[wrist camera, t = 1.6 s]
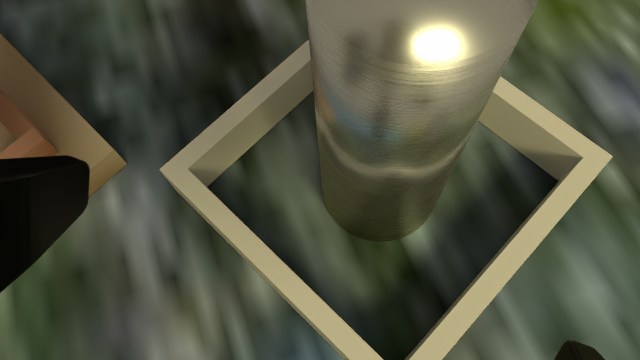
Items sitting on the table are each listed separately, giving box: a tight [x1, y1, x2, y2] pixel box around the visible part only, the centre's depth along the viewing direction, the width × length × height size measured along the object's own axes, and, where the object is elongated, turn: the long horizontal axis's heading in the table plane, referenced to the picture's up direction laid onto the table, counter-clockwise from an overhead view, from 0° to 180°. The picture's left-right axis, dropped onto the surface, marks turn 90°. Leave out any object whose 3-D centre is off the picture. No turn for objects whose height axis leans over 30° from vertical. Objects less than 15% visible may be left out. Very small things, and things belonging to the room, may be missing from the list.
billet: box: [305, 0, 538, 242], centre depth 17 cm, size 5×5×13 cm
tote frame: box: [159, 40, 613, 360], centre depth 22 cm, size 13×13×2 cm
